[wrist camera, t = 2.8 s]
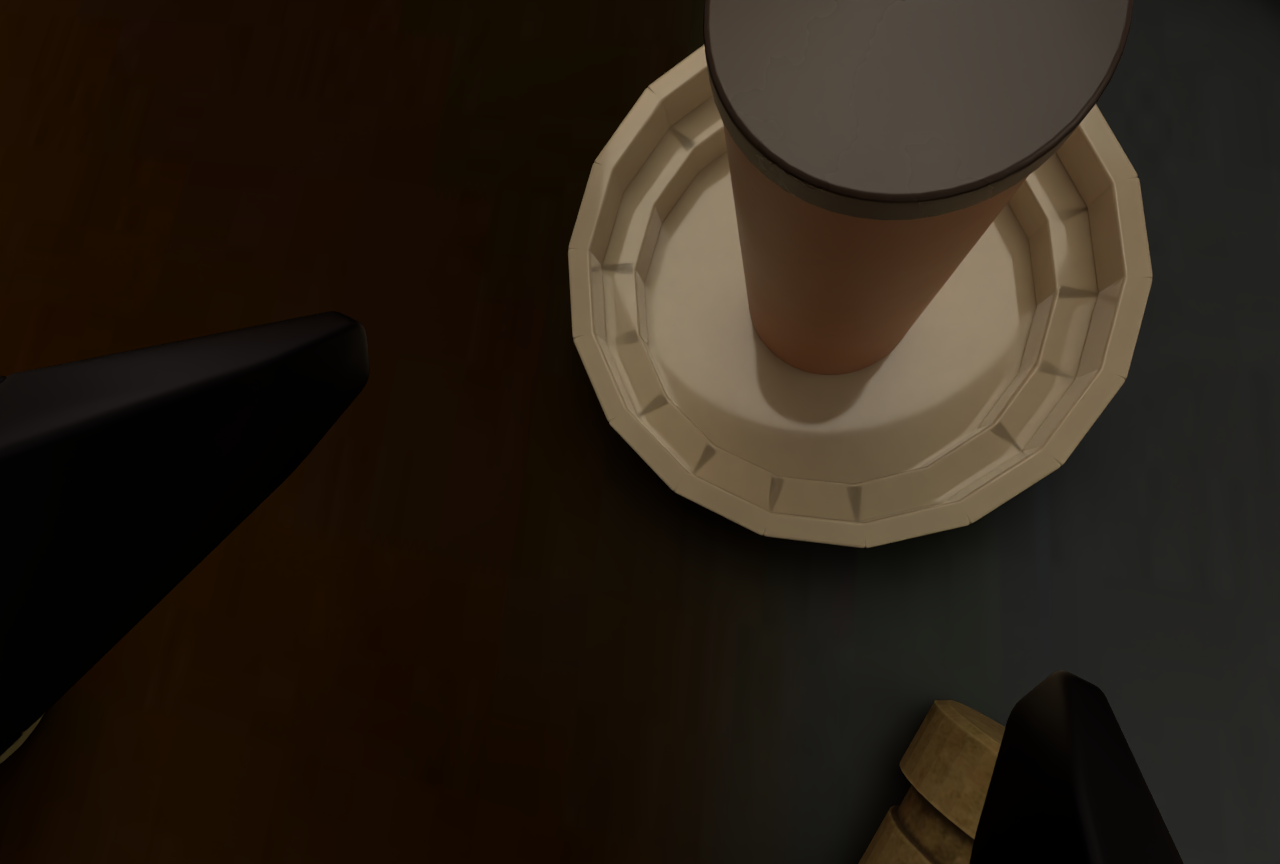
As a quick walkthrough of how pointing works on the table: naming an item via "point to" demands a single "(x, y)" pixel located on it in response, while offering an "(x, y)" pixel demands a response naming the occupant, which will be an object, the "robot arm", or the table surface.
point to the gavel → (940, 789)
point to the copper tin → (887, 147)
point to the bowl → (871, 397)
